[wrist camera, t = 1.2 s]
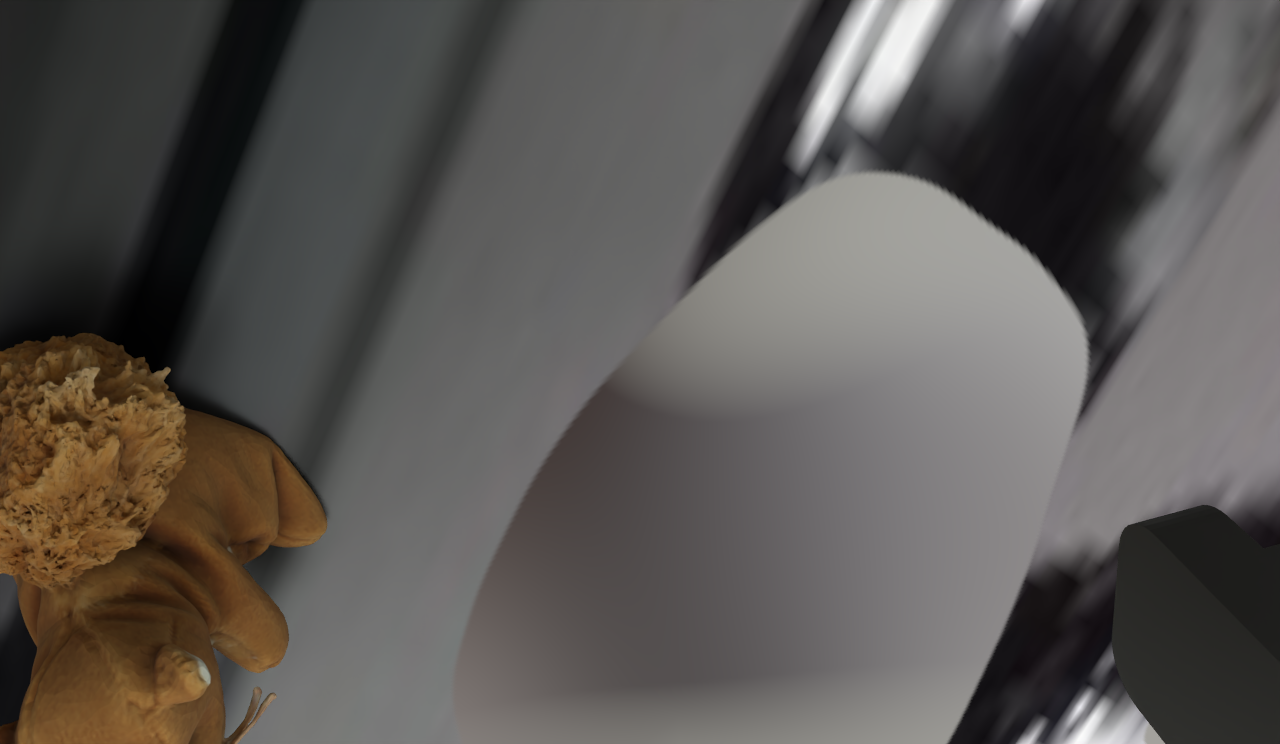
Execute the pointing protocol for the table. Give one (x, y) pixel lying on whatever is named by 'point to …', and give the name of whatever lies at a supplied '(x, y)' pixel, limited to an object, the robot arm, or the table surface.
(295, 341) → the table surface
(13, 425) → the stuffed squirrel
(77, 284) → the table surface
